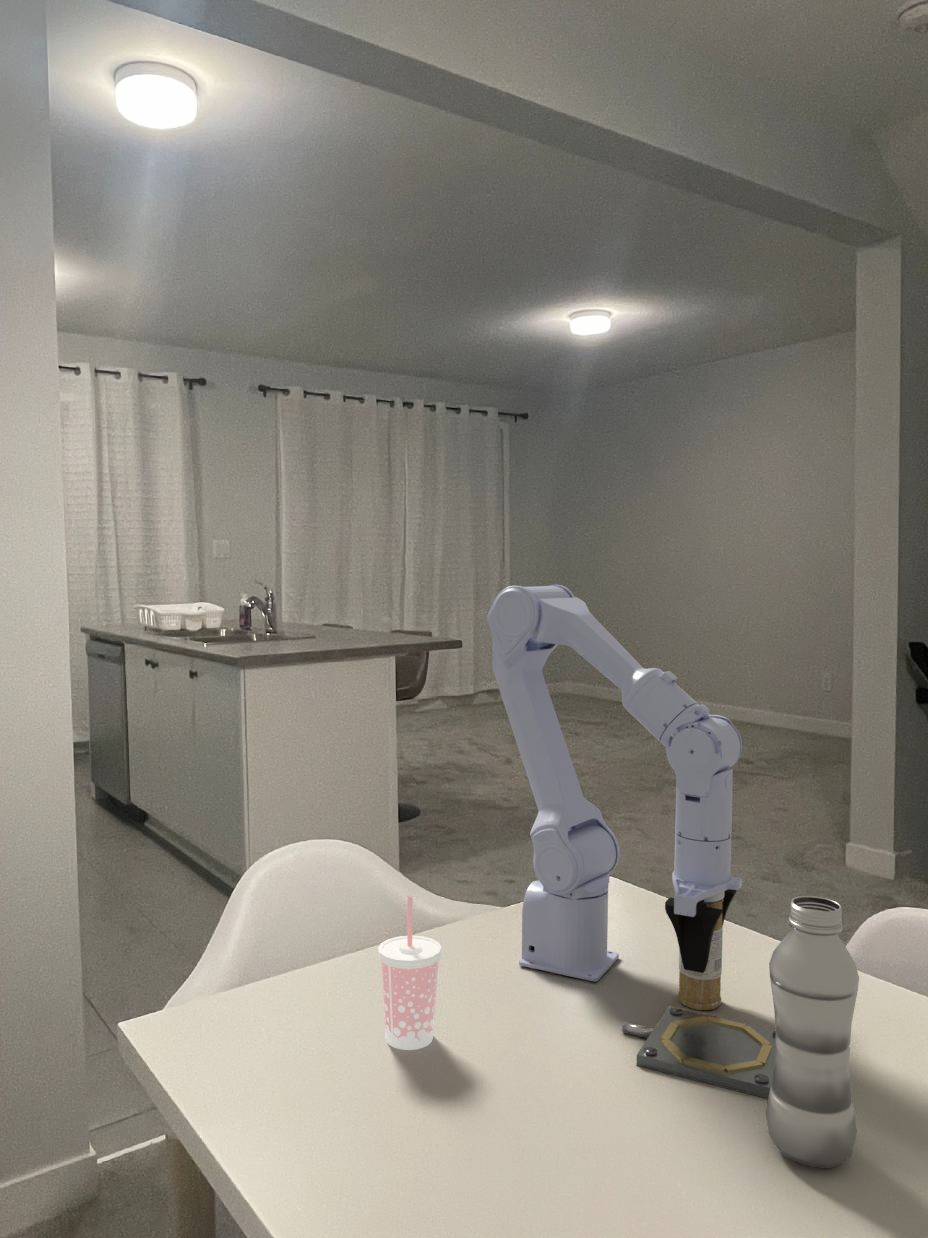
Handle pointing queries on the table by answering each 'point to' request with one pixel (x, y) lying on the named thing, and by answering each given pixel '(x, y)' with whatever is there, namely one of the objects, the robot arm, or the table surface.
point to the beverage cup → (409, 987)
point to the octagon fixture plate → (709, 1050)
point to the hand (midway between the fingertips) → (700, 961)
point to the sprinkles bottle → (705, 986)
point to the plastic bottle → (813, 1037)
